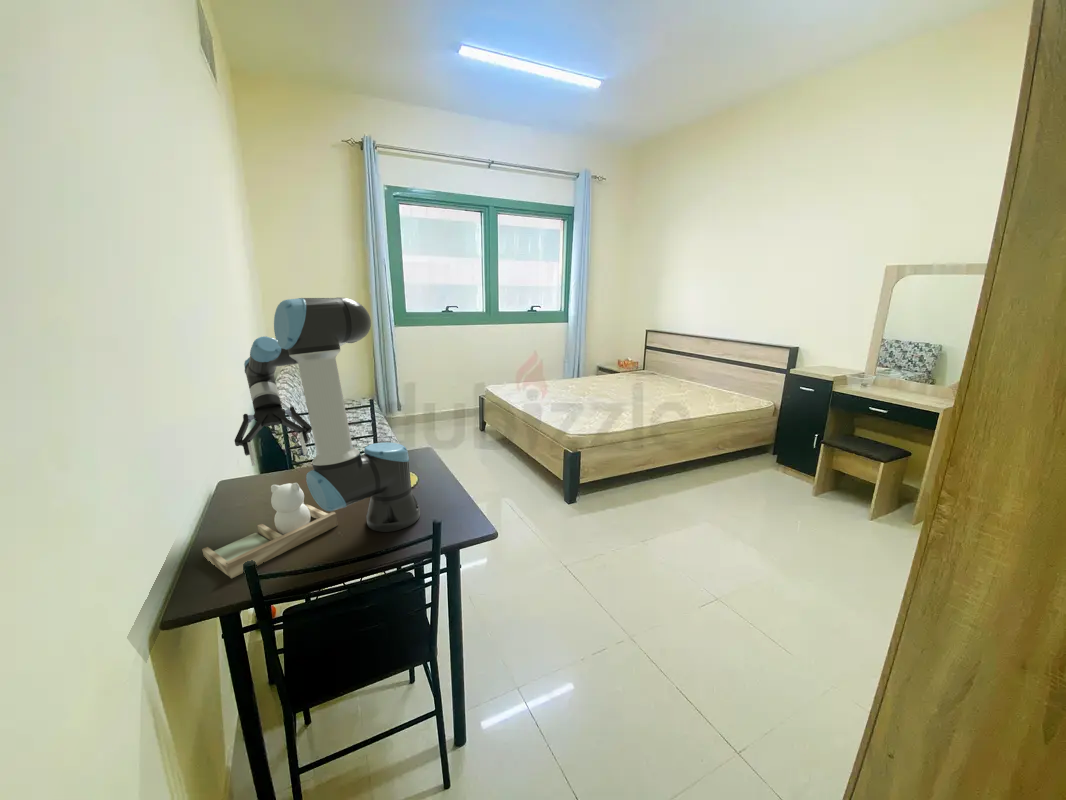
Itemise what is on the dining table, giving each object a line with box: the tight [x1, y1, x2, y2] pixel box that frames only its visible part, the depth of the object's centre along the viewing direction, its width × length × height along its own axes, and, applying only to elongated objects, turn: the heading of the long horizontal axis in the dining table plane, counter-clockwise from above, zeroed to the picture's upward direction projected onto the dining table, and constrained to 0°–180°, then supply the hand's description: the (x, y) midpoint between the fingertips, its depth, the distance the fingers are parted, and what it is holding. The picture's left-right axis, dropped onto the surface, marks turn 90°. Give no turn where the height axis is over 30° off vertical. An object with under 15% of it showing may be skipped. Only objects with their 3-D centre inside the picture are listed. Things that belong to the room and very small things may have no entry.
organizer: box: [201, 503, 339, 579], centre depth 116 cm, size 16×28×4 cm, turn 147°
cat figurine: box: [270, 482, 312, 535], centre depth 120 cm, size 9×12×15 cm
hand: (280, 458), depth 126 cm, fingers open, 13 cm apart
